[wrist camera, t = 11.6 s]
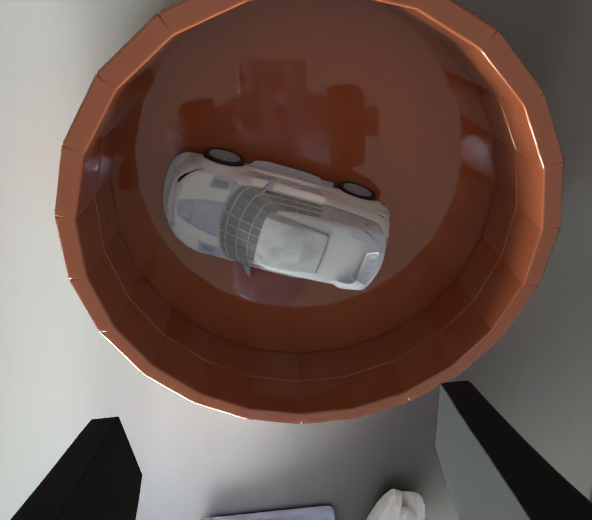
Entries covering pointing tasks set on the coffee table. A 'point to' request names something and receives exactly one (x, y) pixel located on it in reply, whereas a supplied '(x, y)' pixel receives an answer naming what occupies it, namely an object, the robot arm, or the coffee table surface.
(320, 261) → the toy car
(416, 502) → the white faceted piece
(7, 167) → the coffee table surface
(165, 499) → the coffee table surface
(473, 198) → the bowl
